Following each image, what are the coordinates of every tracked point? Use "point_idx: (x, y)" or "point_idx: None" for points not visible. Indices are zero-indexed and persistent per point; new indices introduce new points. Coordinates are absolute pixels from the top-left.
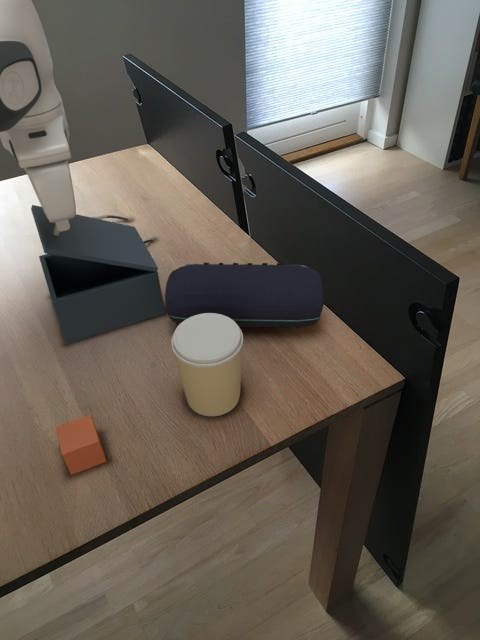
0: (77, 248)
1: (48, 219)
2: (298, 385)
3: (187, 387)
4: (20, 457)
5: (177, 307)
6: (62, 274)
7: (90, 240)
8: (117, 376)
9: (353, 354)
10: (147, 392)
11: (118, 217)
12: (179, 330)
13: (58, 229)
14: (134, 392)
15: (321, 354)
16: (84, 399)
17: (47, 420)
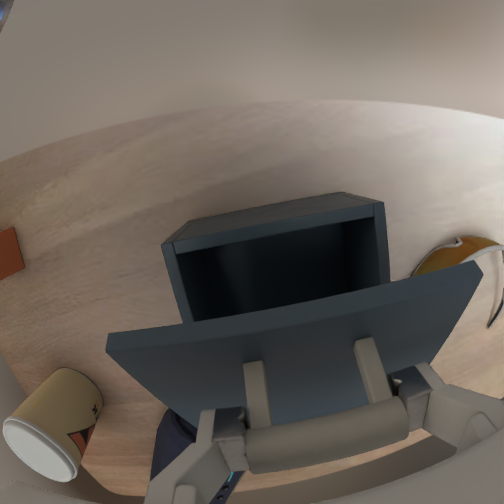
0: (194, 398)
1: (2, 486)
2: (95, 450)
3: (34, 391)
4: (10, 175)
5: (161, 428)
6: (355, 233)
7: (274, 406)
8: (104, 299)
9: (134, 488)
10: (77, 331)
11: (496, 315)
12: (36, 439)
13: (201, 415)
14: (77, 316)
15: (134, 475)
16: (70, 251)
17: (46, 201)
